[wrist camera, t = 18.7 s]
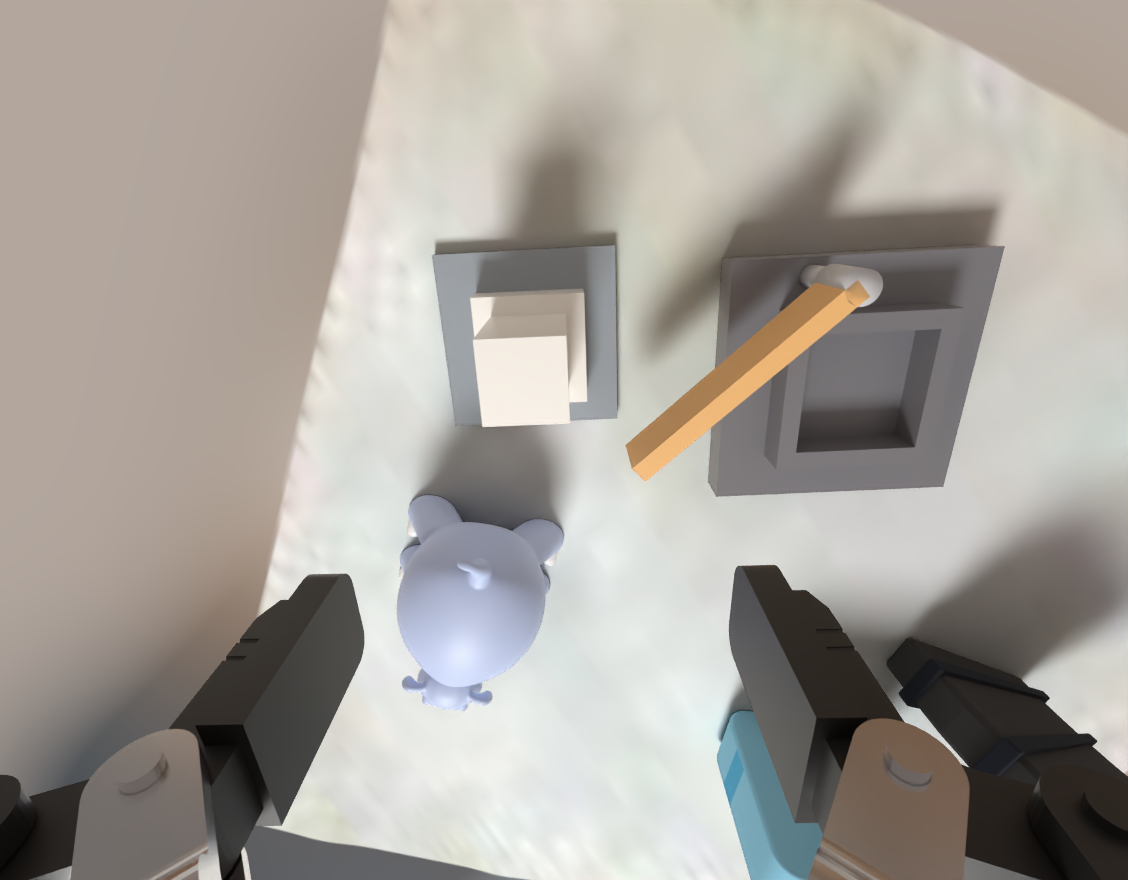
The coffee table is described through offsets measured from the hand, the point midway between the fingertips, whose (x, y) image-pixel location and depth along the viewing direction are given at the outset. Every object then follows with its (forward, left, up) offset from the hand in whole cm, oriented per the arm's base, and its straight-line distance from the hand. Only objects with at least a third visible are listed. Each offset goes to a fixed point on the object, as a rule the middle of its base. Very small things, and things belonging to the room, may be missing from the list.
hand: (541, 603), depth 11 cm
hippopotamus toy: (+7, +15, -22) cm, 28 cm away
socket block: (-17, +2, -22) cm, 28 cm away
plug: (+1, -1, -22) cm, 22 cm away
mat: (+1, -1, -22) cm, 22 cm away
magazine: (-31, +27, -22) cm, 46 cm away
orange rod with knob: (-9, 0, -18) cm, 20 cm away
